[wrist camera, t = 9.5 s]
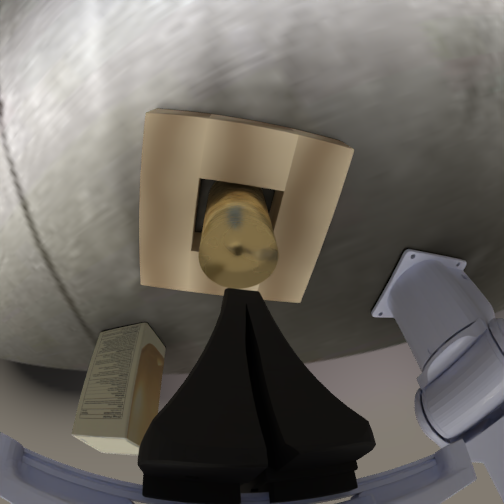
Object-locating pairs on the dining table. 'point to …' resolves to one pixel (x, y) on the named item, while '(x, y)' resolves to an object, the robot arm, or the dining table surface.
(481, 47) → the dining table surface
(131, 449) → the skincare box
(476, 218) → the dining table surface
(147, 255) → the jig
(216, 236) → the amber rounded cylinder
